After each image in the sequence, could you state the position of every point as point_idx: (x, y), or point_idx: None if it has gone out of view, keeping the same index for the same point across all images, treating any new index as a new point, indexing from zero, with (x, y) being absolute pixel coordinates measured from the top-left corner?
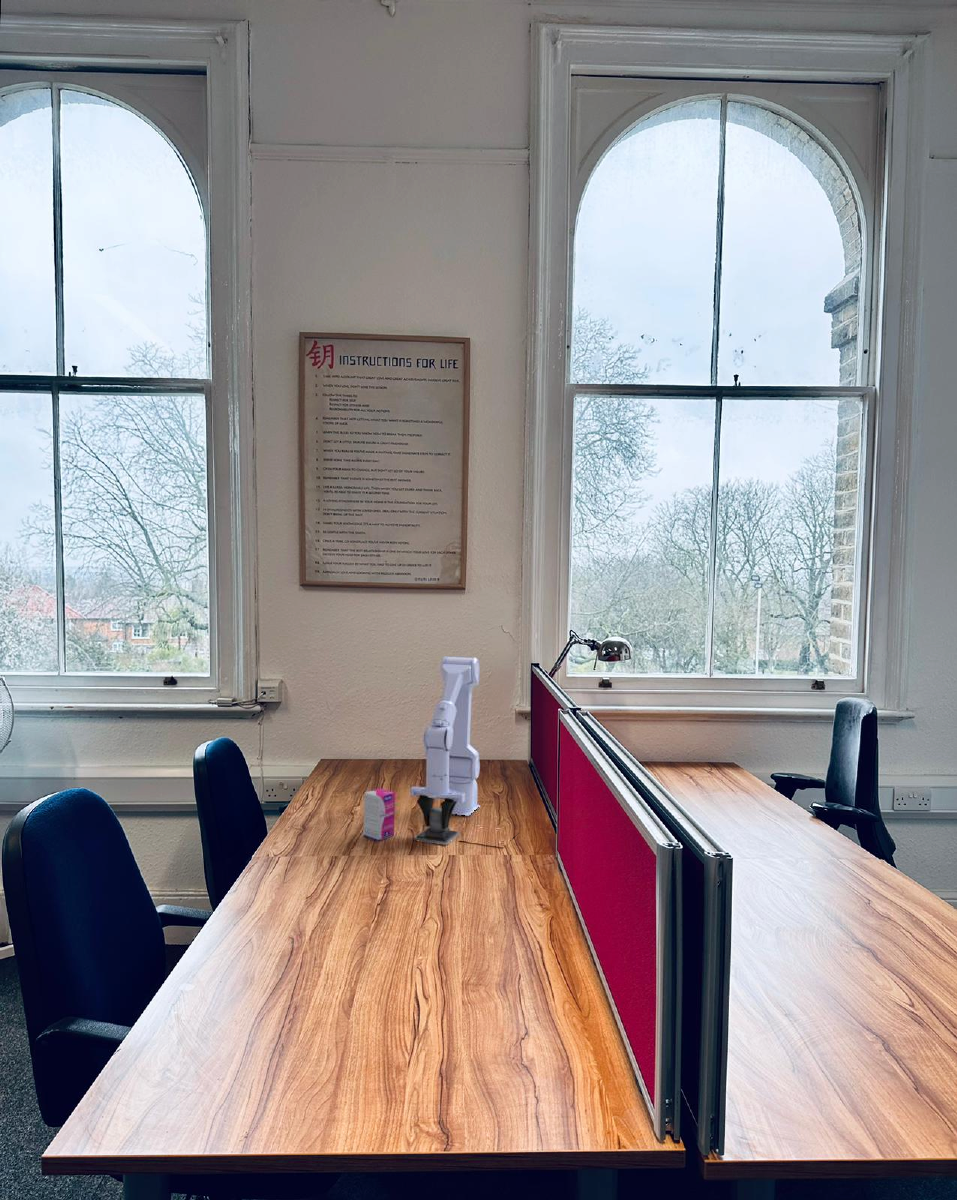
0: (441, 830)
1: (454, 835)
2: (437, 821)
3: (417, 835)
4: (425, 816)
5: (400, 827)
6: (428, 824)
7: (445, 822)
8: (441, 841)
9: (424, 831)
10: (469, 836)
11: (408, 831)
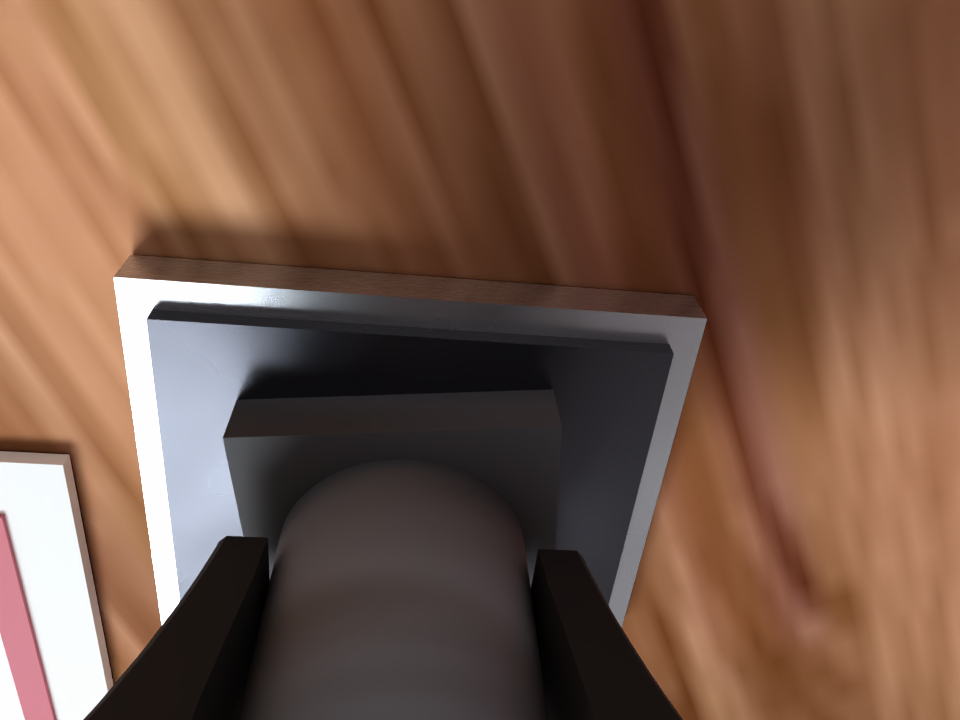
0: (293, 518)
1: (164, 547)
2: (329, 609)
3: (665, 368)
4: (613, 678)
5: (954, 612)
6: (540, 579)
7: (167, 623)
8: (218, 297)
9: (607, 526)
10: (2, 599)
11: (837, 543)
